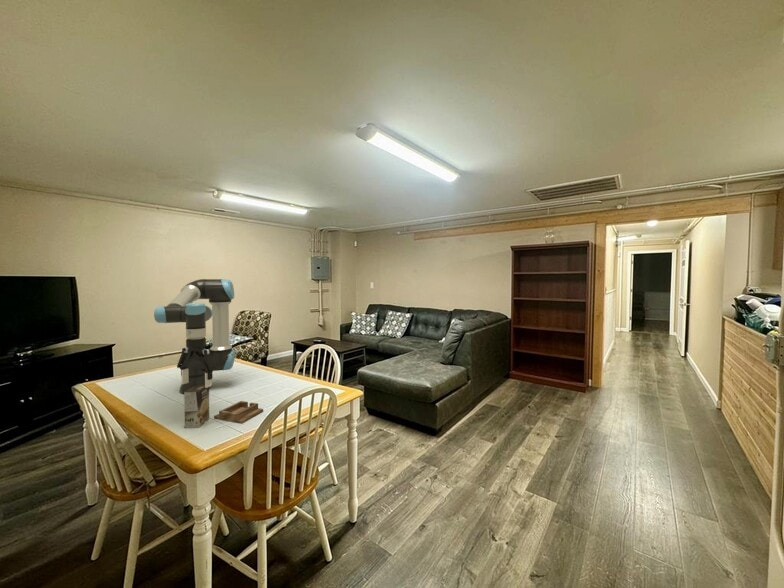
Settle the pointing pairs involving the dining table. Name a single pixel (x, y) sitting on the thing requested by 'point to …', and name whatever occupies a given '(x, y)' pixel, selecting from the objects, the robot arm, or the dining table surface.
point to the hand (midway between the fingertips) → (196, 385)
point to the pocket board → (239, 412)
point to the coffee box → (196, 406)
